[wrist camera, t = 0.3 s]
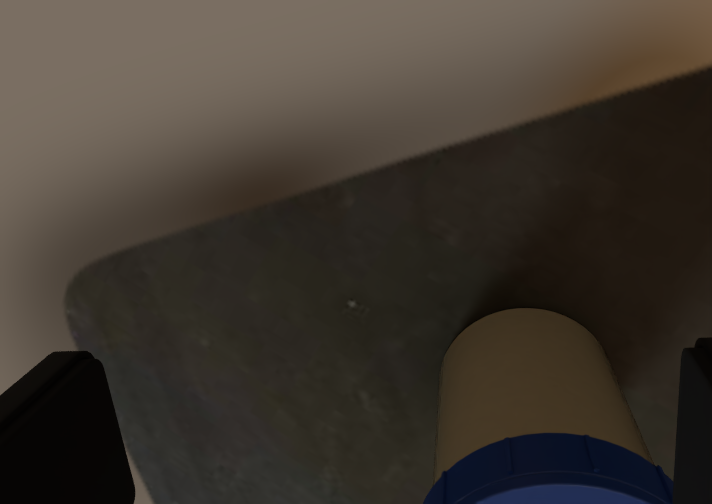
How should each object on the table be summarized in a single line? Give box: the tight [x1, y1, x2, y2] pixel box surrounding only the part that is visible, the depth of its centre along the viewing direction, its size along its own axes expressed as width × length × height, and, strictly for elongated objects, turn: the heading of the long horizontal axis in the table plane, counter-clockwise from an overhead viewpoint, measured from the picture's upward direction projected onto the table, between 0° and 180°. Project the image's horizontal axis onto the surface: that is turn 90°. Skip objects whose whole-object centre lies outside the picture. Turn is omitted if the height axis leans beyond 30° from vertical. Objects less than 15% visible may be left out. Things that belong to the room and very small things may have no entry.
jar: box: [433, 308, 654, 486], centre depth 20 cm, size 6×6×10 cm
